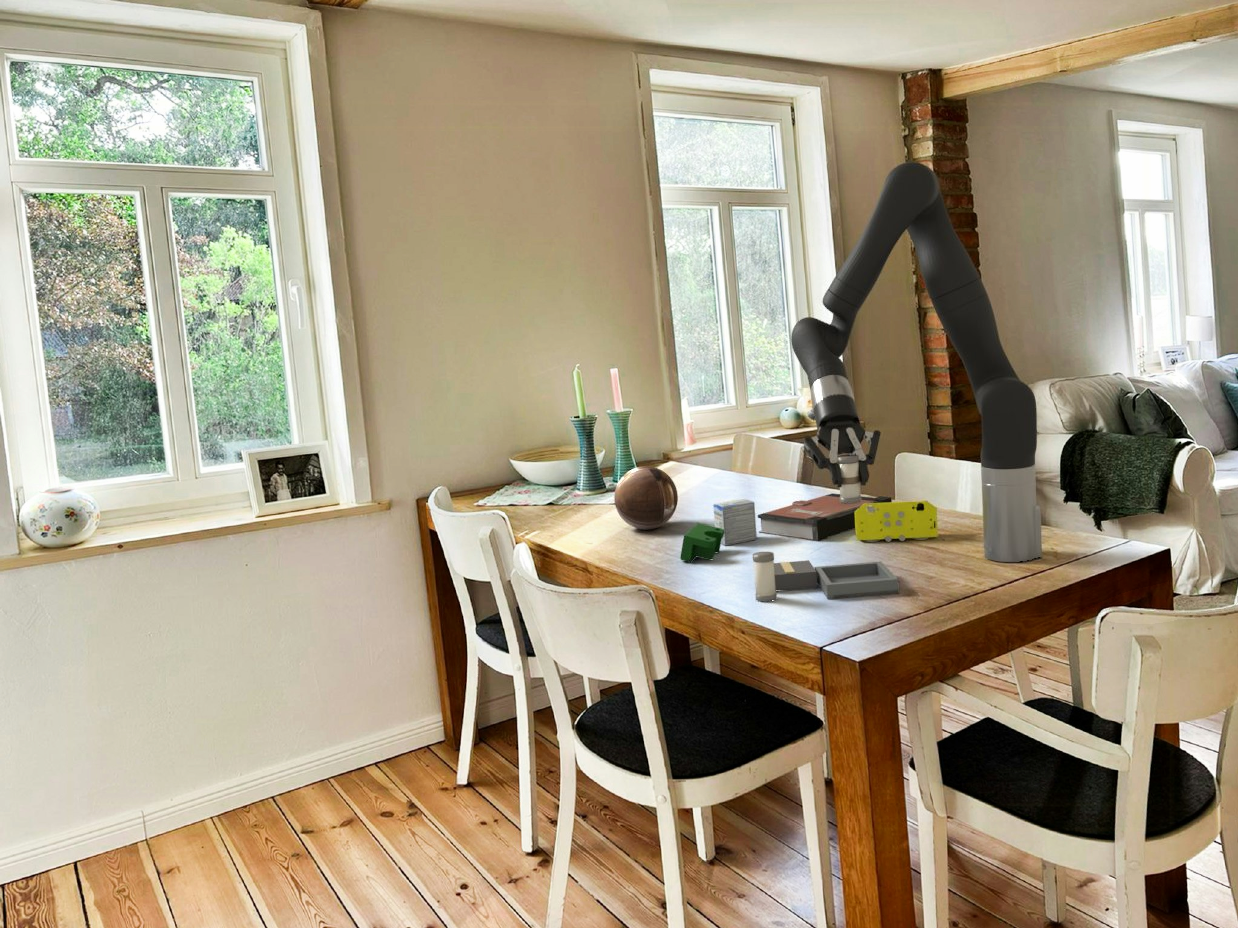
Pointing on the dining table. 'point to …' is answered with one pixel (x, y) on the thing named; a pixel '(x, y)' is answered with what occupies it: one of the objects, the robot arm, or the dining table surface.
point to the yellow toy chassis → (896, 521)
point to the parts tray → (856, 580)
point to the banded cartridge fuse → (849, 479)
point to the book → (814, 517)
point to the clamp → (701, 542)
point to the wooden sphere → (646, 497)
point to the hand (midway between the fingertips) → (852, 483)
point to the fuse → (764, 576)
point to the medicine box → (736, 521)
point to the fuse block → (795, 575)
